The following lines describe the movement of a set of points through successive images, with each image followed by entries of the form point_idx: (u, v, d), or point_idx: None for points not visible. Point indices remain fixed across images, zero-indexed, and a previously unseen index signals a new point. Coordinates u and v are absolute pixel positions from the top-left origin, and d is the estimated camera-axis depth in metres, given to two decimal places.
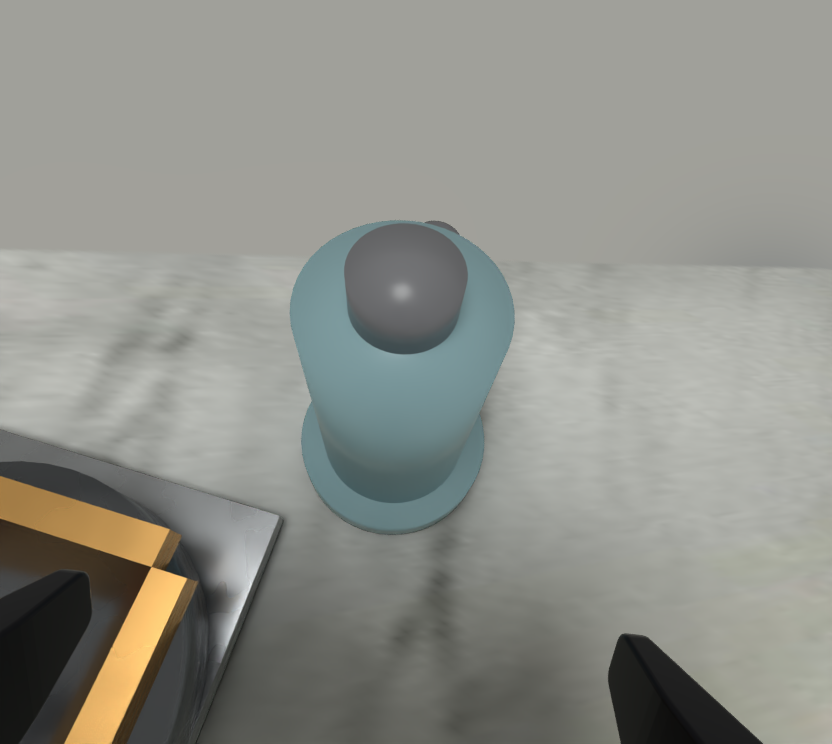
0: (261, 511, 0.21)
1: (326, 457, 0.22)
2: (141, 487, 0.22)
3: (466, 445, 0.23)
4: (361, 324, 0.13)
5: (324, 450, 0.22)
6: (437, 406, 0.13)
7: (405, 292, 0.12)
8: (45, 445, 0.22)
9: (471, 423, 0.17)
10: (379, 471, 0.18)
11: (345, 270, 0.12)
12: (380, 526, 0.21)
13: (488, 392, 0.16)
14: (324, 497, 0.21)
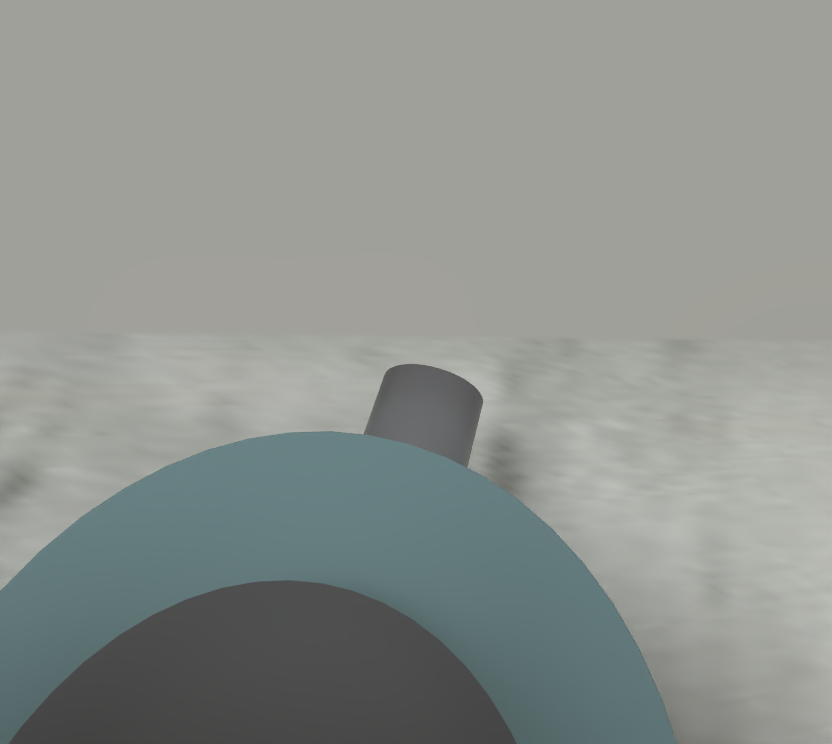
0: None
1: None
2: None
3: None
4: None
5: None
6: None
7: None
8: None
9: None
10: None
11: None
12: None
13: None
14: None
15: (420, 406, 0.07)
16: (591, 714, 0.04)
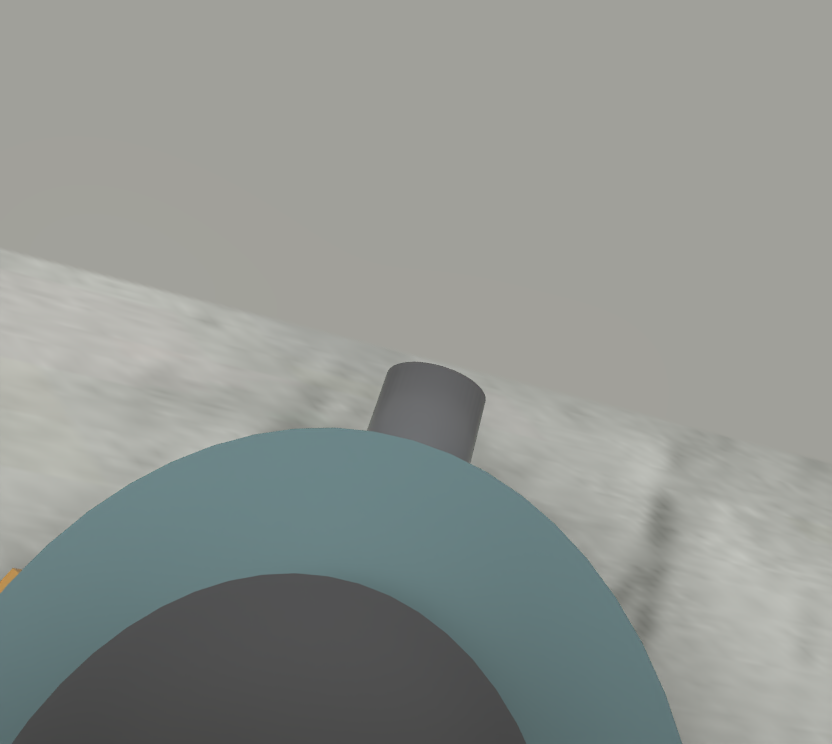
0: None
1: None
2: None
3: None
4: None
5: None
6: None
7: None
8: None
9: None
10: None
11: None
12: None
13: None
14: None
15: (423, 404, 0.07)
16: (595, 709, 0.04)
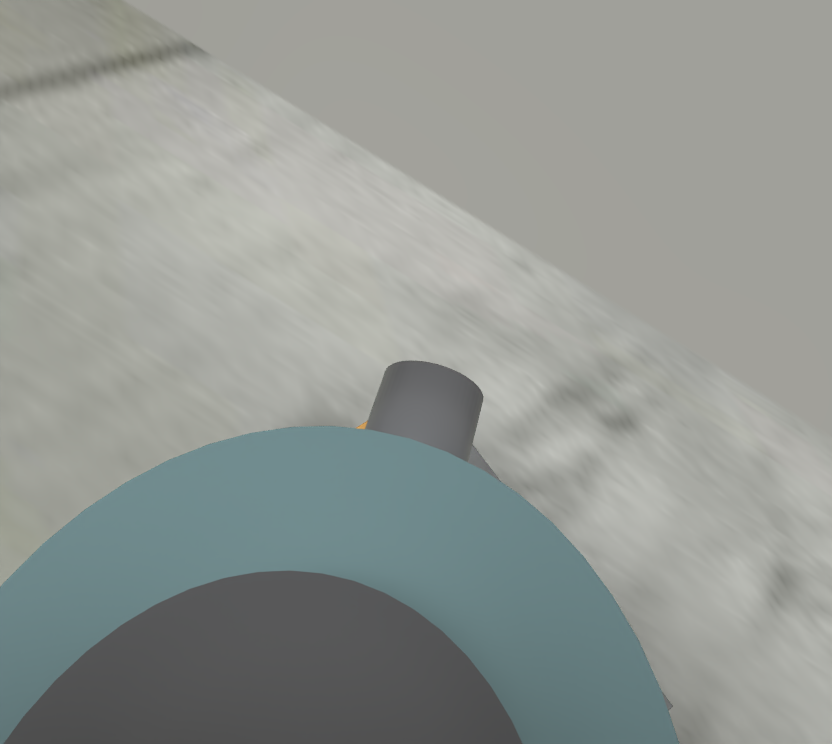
0: None
1: None
2: None
3: None
4: None
5: None
6: None
7: None
8: (480, 457, 0.21)
9: None
10: None
11: None
12: None
13: None
14: None
15: (421, 402, 0.07)
16: (591, 707, 0.04)
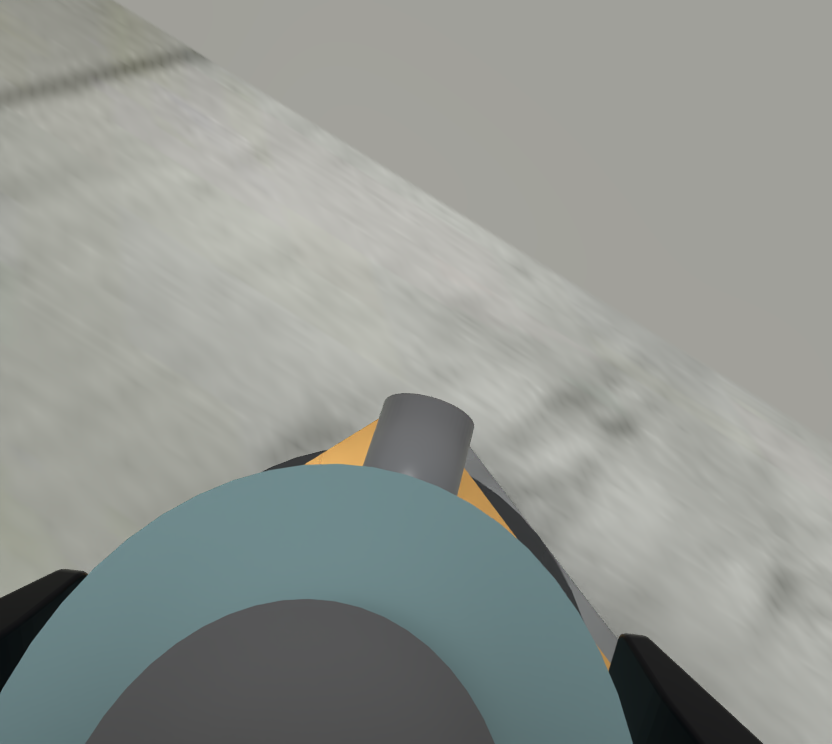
0: None
1: None
2: None
3: None
4: None
5: None
6: None
7: None
8: (479, 462, 0.21)
9: None
10: None
11: None
12: None
13: None
14: None
15: (417, 432, 0.08)
16: (558, 707, 0.05)
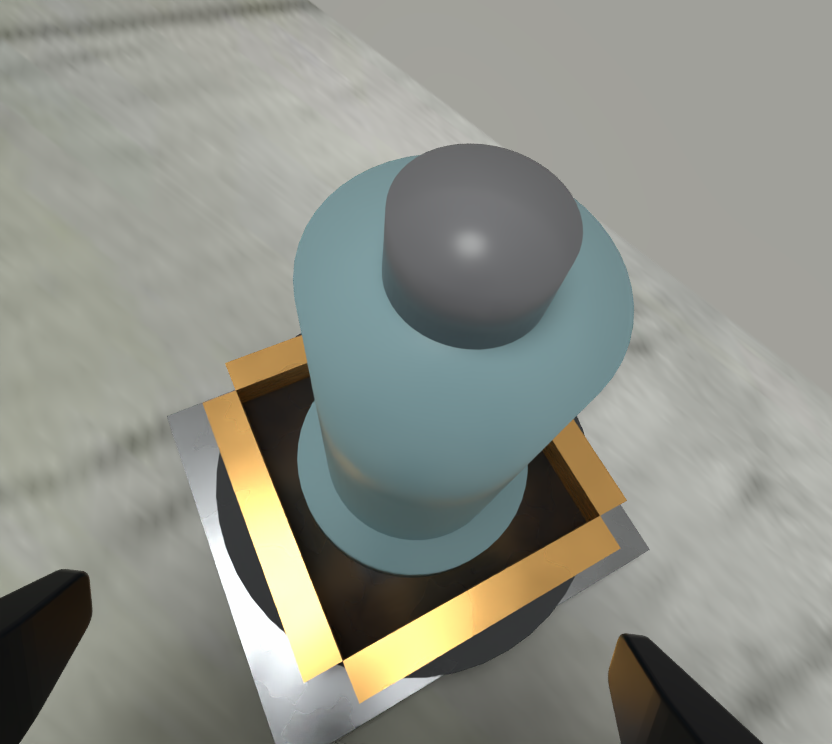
0: (637, 533, 0.22)
1: (326, 467, 0.18)
2: None
3: None
4: (401, 290, 0.08)
5: (325, 458, 0.18)
6: (502, 438, 0.08)
7: (479, 248, 0.08)
8: None
9: (531, 460, 0.12)
10: (391, 505, 0.13)
11: (388, 200, 0.08)
12: (382, 567, 0.16)
13: None
14: (316, 518, 0.17)
15: None
16: (594, 268, 0.09)
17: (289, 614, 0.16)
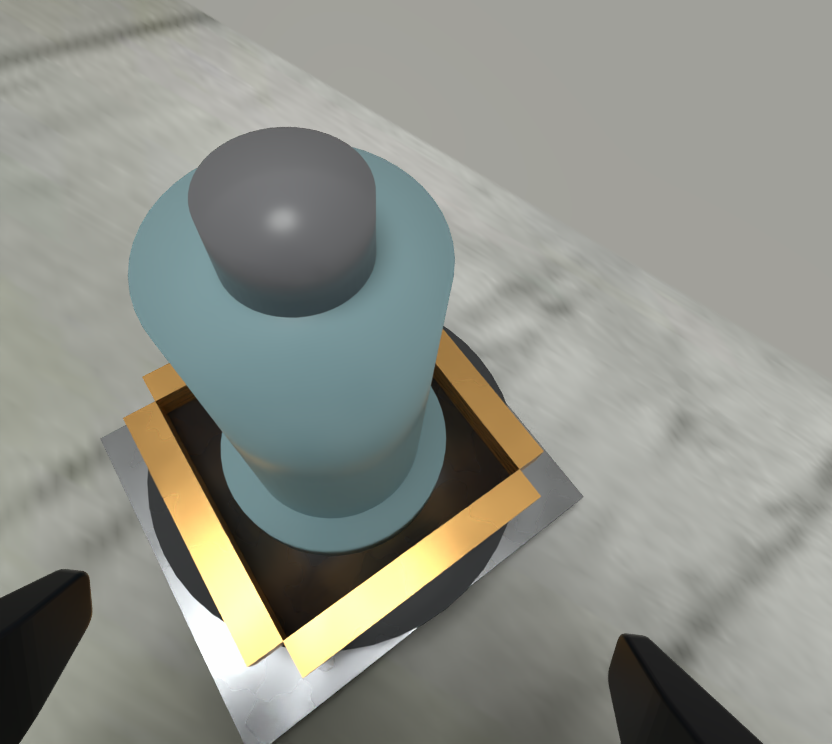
0: (571, 483, 0.23)
1: None
2: None
3: (424, 446, 0.19)
4: (220, 270, 0.09)
5: None
6: (331, 393, 0.09)
7: (277, 220, 0.08)
8: None
9: (409, 418, 0.12)
10: (293, 482, 0.13)
11: (191, 189, 0.08)
12: (312, 547, 0.17)
13: (429, 376, 0.12)
14: (245, 511, 0.17)
15: None
16: (418, 229, 0.10)
17: (227, 605, 0.16)
